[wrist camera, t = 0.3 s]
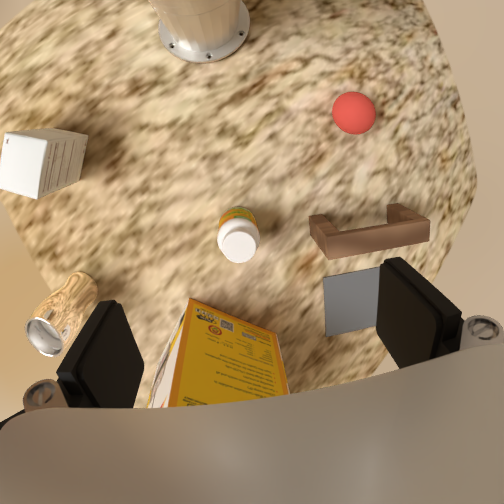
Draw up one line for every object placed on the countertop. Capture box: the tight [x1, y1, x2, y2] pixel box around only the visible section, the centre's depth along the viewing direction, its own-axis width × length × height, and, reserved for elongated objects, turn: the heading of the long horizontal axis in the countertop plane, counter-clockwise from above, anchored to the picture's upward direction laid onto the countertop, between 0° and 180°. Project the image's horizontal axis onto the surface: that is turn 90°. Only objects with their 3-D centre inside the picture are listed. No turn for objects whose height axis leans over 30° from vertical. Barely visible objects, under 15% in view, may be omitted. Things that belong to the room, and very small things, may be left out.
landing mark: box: [323, 267, 380, 337], centre depth 53 cm, size 12×12×1 cm
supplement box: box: [0, 128, 89, 199], centre depth 35 cm, size 7×7×13 cm
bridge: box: [309, 203, 430, 260], centre depth 43 cm, size 3×15×10 cm, turn 99°
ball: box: [332, 92, 376, 134], centre depth 38 cm, size 6×6×6 cm
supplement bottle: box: [217, 207, 260, 263], centre depth 42 cm, size 5×5×10 cm
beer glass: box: [25, 272, 98, 357], centre depth 42 cm, size 7×7×15 cm
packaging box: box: [147, 298, 290, 408], centre depth 43 cm, size 16×16×25 cm
